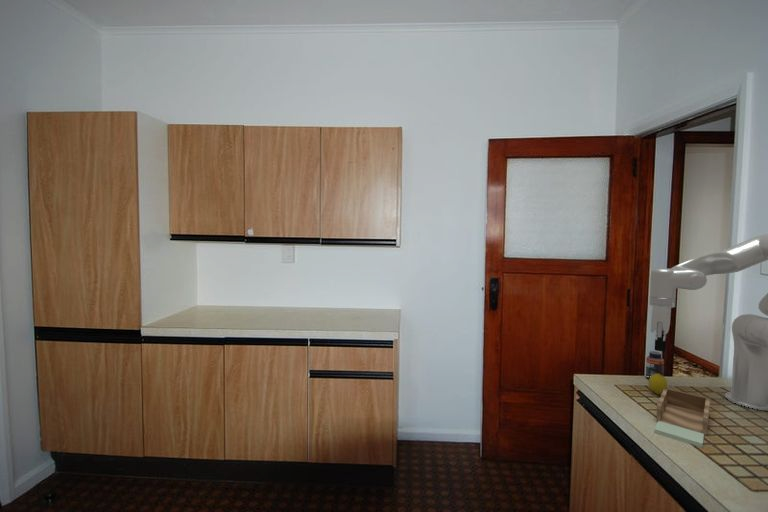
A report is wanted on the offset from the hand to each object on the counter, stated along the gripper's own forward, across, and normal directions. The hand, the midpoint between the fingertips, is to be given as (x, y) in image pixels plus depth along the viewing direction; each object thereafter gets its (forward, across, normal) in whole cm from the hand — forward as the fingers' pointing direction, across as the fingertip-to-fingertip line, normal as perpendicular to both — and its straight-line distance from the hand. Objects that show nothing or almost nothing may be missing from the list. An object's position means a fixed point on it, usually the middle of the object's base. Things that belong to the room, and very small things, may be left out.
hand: (660, 350), depth 135 cm
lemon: (+17, 0, 0) cm, 17 cm away
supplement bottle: (+17, -17, -3) cm, 25 cm away
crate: (+17, +17, +8) cm, 25 cm away
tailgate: (+16, +26, +8) cm, 32 cm away
